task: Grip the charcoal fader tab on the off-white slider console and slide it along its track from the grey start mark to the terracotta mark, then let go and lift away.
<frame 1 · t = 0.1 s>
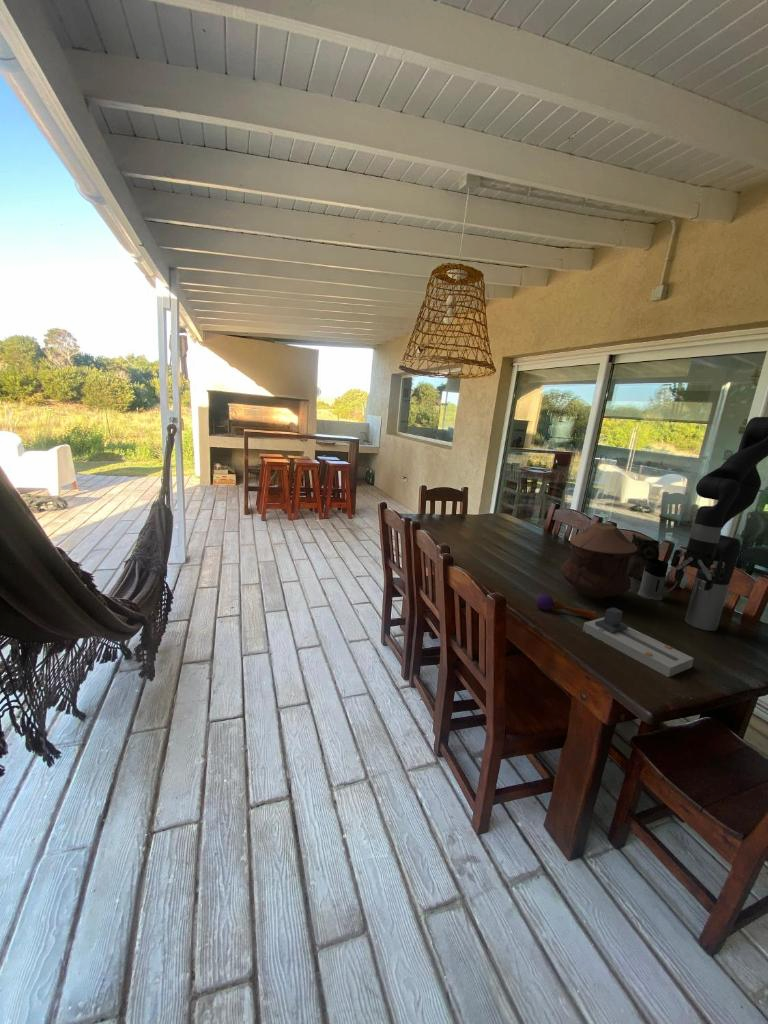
hand: (691, 585, 135), 17 cm above the table, tool pointing down, fingers open, 8 cm apart
pottery vessel: (591, 595, 165), on the table
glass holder: (655, 599, 166), on the table
owl: (643, 578, 189), on the table
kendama: (563, 614, 148), on the table
fader tab: (612, 618, 132), point 6 cm above the table, slide at 0.0 cm
slider console: (633, 647, 127), on the table
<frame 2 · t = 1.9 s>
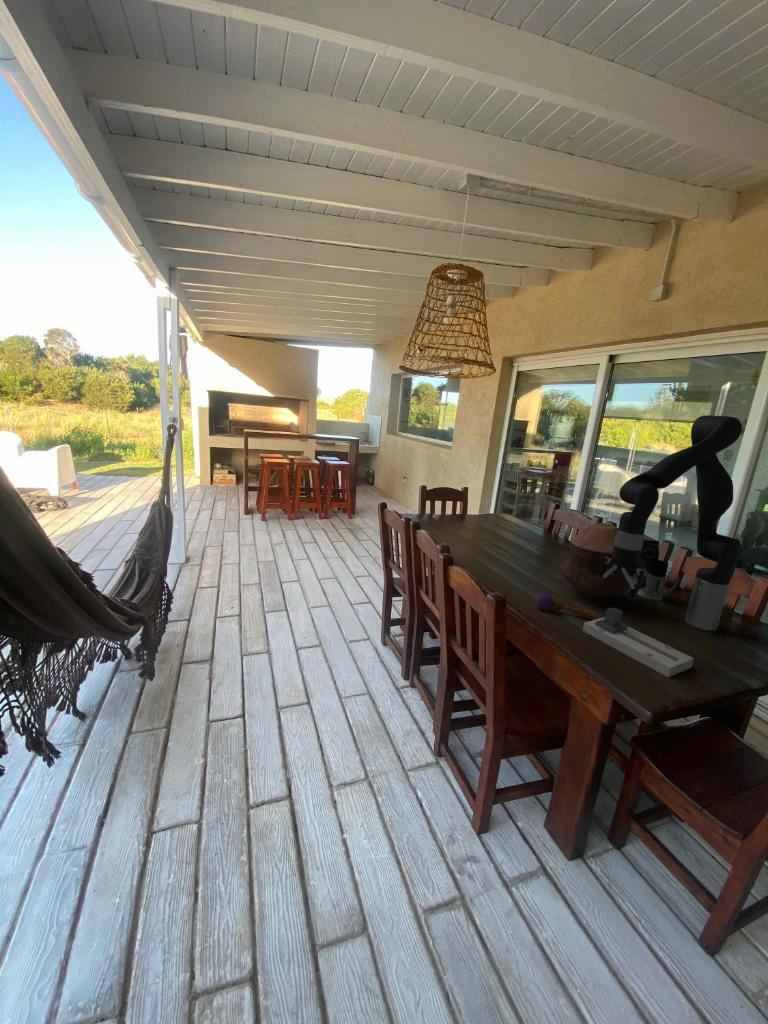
hand: (617, 593, 130), 15 cm above the table, tool pointing down, fingers open, 8 cm apart
nothing on the table moved.
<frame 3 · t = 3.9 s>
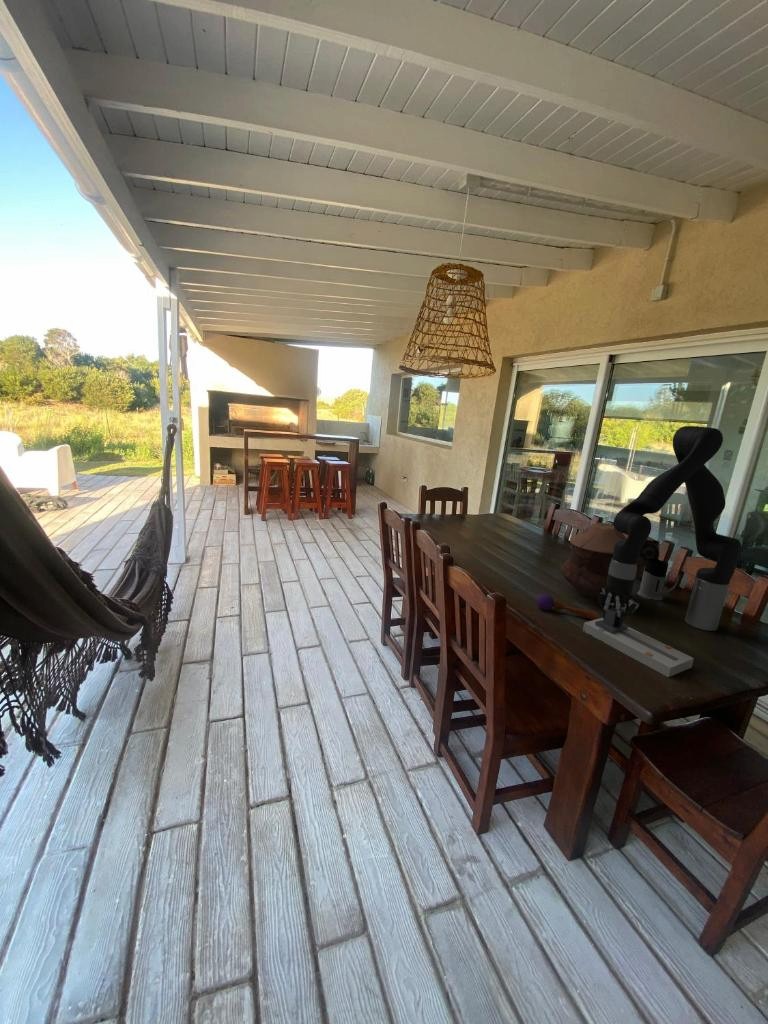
hand: (611, 623, 133), 4 cm above the table, tool pointing down, fingers closed on fader tab, 3 cm apart
fader tab: (612, 618, 132), point 6 cm above the table, slide at 0.0 cm, touching gripper
everything else where it was.
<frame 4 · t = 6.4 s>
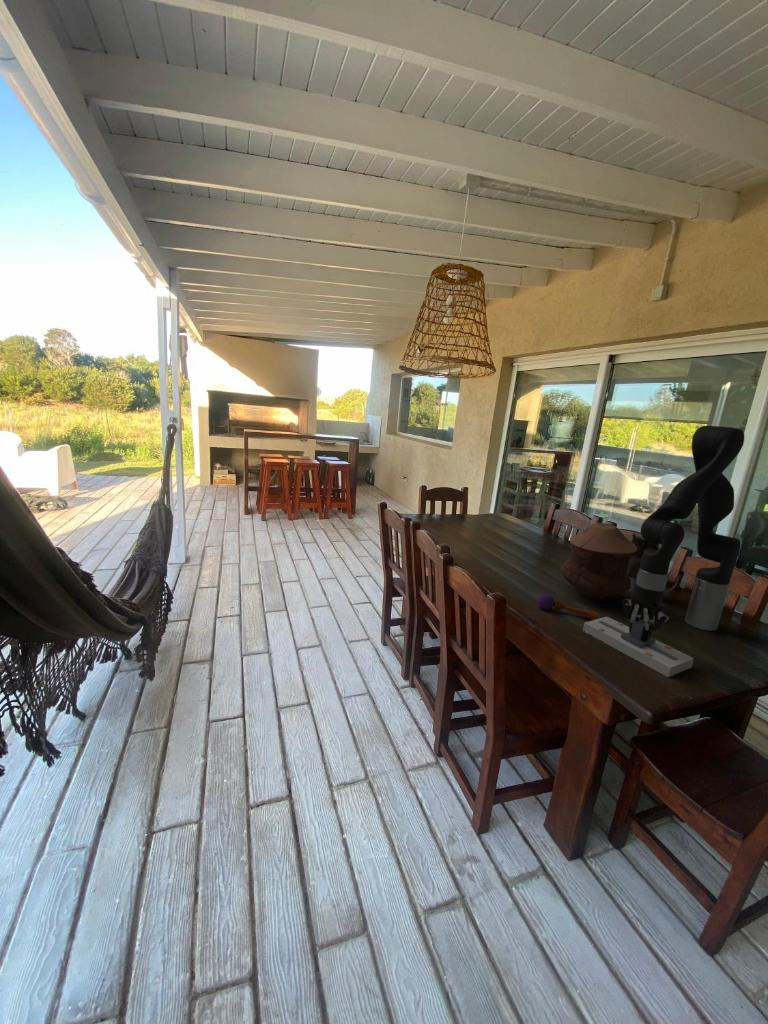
hand: (638, 636, 125), 4 cm above the table, tool pointing down, fingers closed on fader tab, 3 cm apart
fader tab: (639, 631, 125), point 6 cm above the table, slide at 8.9 cm, touching gripper
everything else where it was.
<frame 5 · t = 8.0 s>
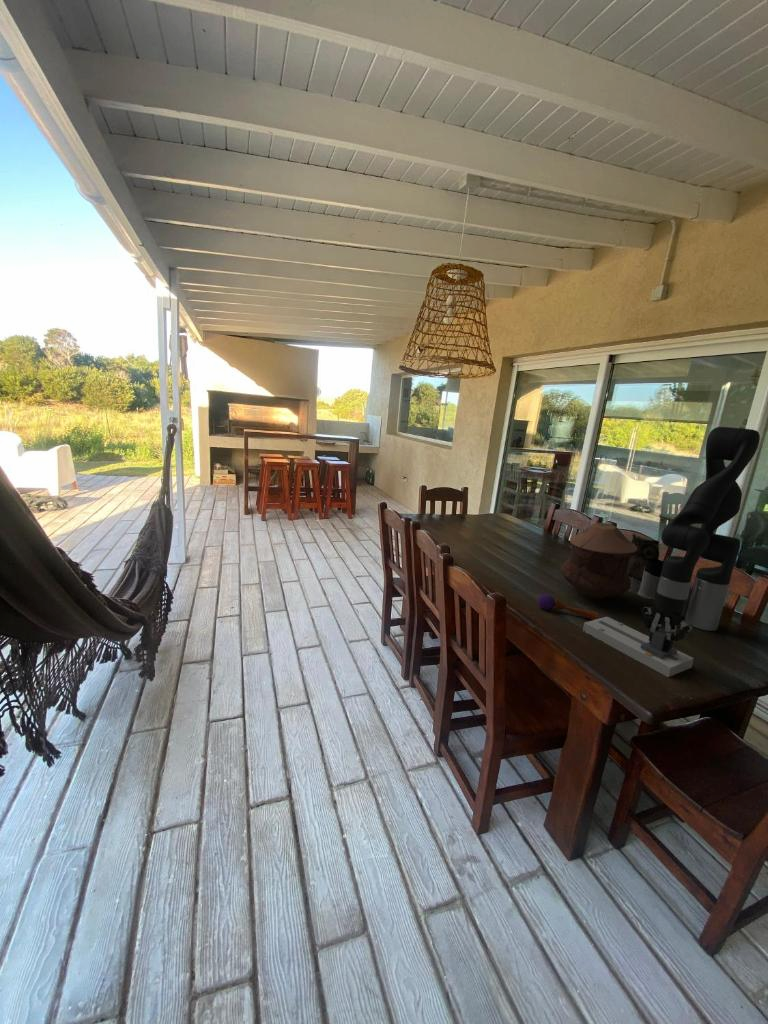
hand: (659, 646, 120), 4 cm above the table, tool pointing down, fingers closed on fader tab, 3 cm apart
fader tab: (660, 641, 120), point 6 cm above the table, slide at 14.9 cm, touching gripper
everything else where it was.
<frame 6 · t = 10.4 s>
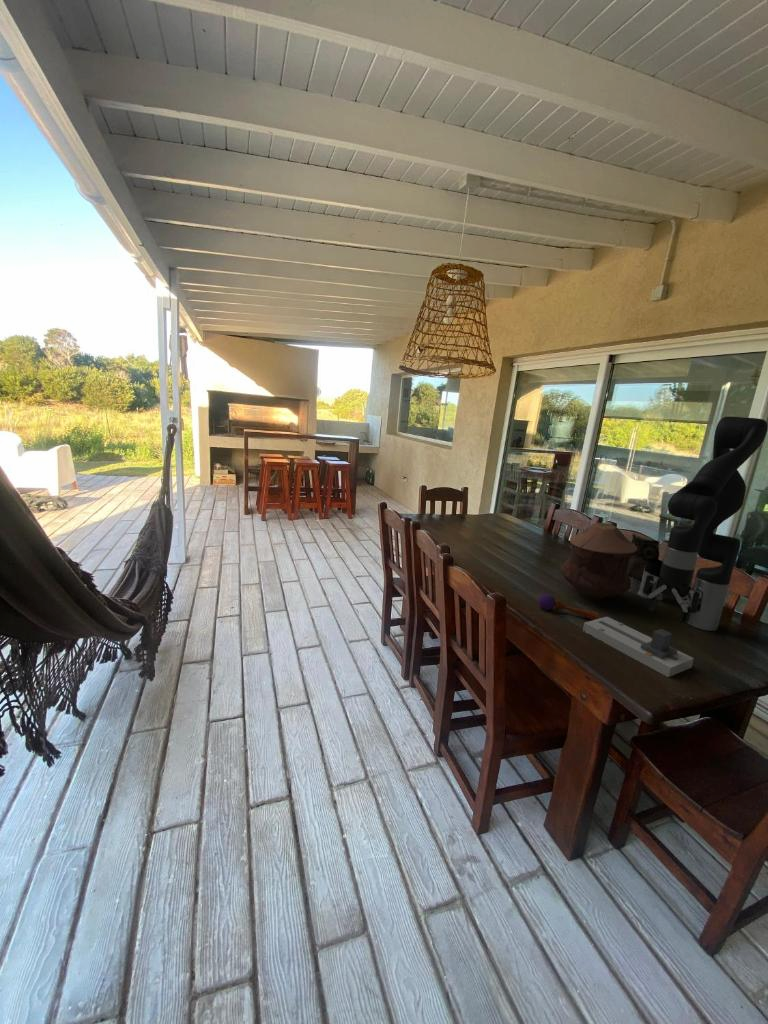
hand: (666, 616, 118), 14 cm above the table, tool pointing down, fingers open, 8 cm apart
fader tab: (660, 641, 119), point 6 cm above the table, slide at 15.0 cm
everything else where it was.
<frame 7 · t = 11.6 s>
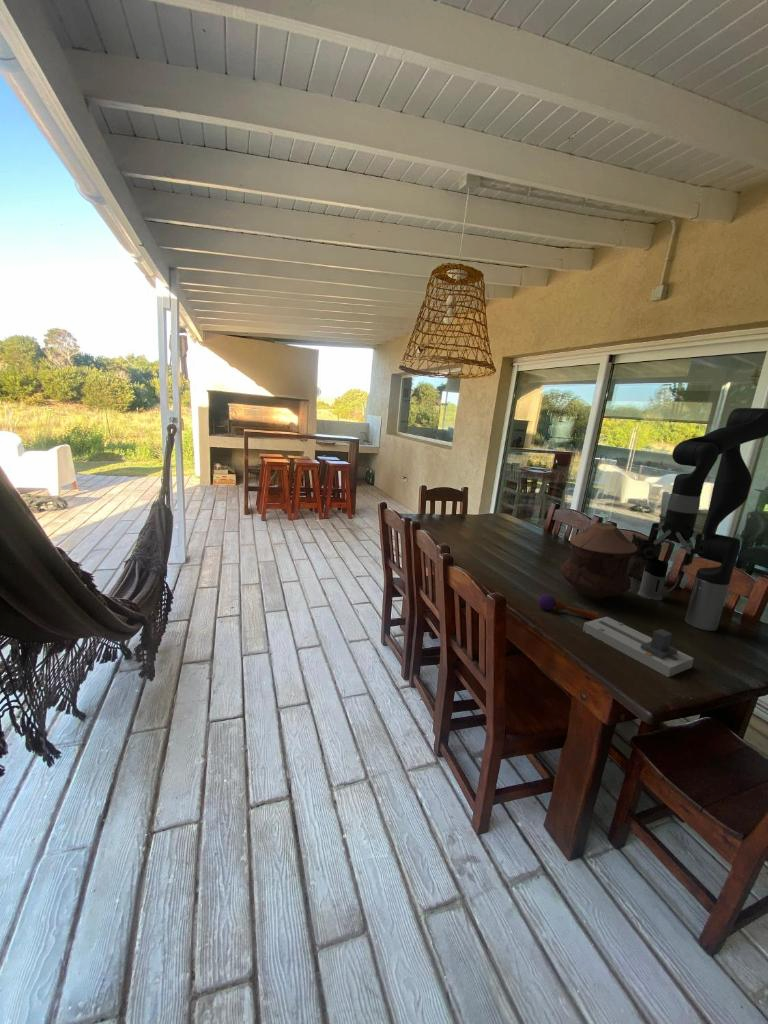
hand: (670, 560, 125), 28 cm above the table, tool pointing down, fingers open, 8 cm apart
nothing on the table moved.
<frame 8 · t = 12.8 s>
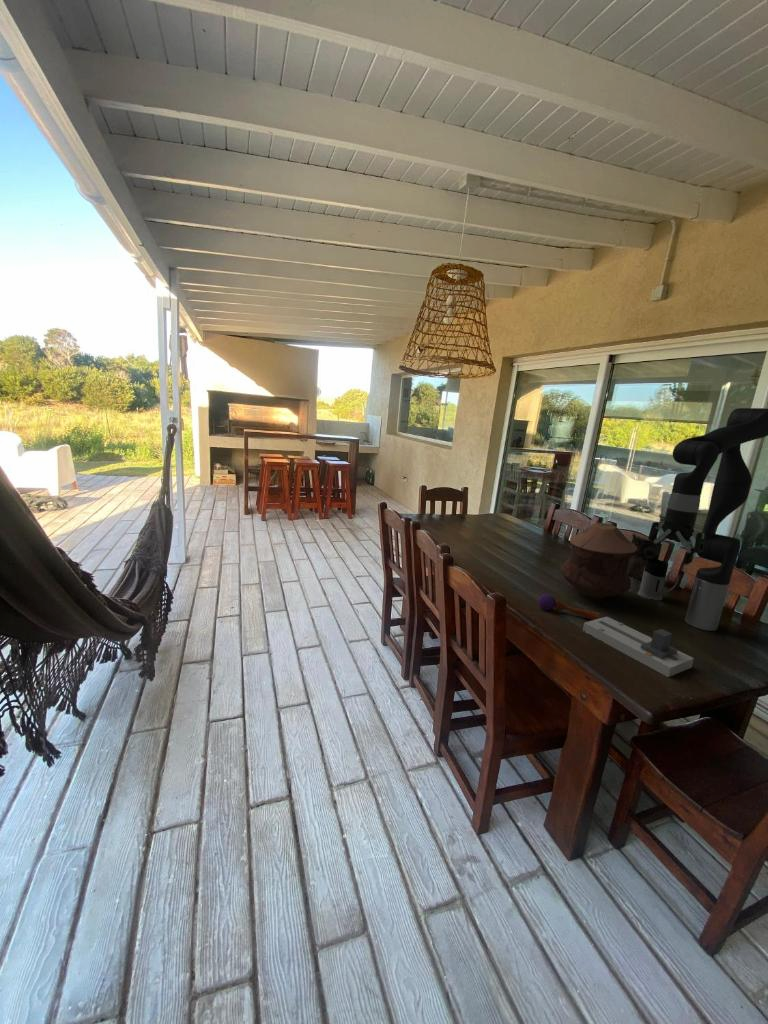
hand: (670, 559, 125), 28 cm above the table, tool pointing down, fingers open, 8 cm apart
nothing on the table moved.
at the end: fader tab slide at 15.0 cm; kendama moved 1.0 cm from its start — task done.
